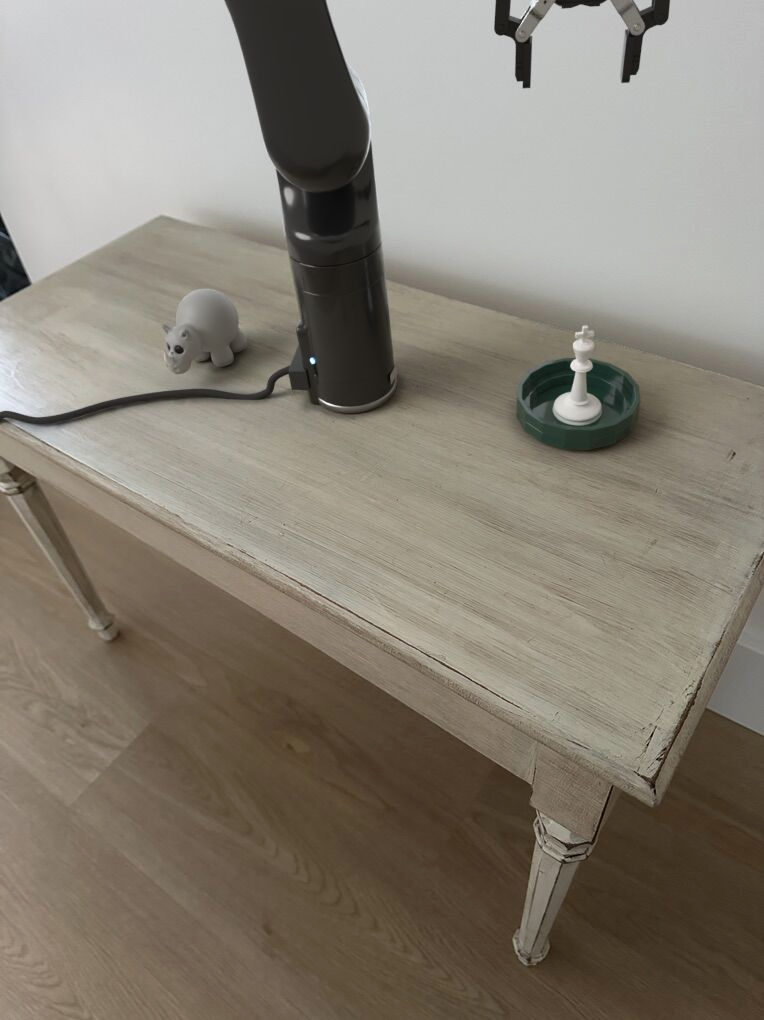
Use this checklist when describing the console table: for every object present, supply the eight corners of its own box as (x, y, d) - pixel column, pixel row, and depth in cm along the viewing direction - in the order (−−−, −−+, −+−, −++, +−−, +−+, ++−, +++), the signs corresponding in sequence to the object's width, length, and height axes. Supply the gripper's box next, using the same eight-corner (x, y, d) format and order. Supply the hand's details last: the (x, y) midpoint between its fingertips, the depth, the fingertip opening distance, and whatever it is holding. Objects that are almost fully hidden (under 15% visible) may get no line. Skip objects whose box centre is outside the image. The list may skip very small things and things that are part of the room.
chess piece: (547, 399, 83) (553, 316, 76) (594, 393, 83) (603, 309, 76) (559, 428, 80) (566, 344, 73) (607, 422, 80) (619, 337, 73)
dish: (514, 451, 79) (515, 428, 77) (518, 380, 87) (519, 357, 85) (640, 455, 77) (644, 431, 75) (631, 381, 85) (635, 358, 83)
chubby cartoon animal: (151, 388, 93) (128, 325, 87) (211, 334, 100) (193, 272, 94) (200, 401, 90) (180, 337, 84) (258, 344, 97) (243, 281, 91)
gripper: (685, -168, 61) (654, 65, 72) (498, -149, 63) (496, 73, 75) (697, -155, 55) (662, 93, 67) (493, -135, 58) (492, 101, 69)
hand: (574, 83), depth 71 cm, fingers open, 8 cm apart
